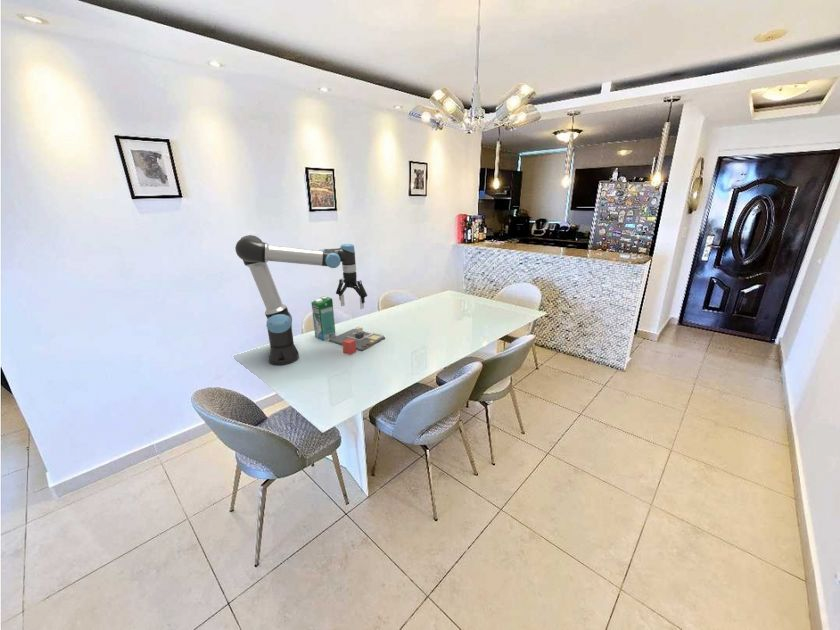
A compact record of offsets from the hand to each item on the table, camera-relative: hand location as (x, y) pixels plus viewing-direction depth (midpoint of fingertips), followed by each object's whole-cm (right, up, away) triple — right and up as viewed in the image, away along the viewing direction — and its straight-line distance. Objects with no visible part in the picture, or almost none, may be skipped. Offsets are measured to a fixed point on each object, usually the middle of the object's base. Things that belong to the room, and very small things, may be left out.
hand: (352, 307), depth 200 cm
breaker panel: (+2, -20, +6) cm, 21 cm away
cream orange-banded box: (+2, -16, +12) cm, 20 cm away
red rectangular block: (+1, -25, -10) cm, 28 cm away
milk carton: (-19, -19, +10) cm, 28 cm away
